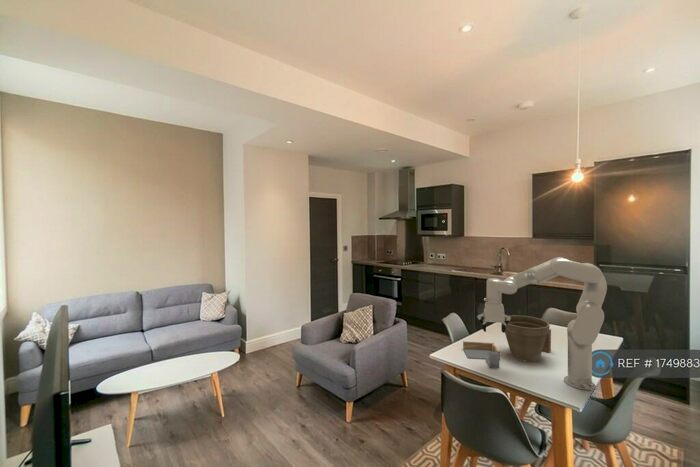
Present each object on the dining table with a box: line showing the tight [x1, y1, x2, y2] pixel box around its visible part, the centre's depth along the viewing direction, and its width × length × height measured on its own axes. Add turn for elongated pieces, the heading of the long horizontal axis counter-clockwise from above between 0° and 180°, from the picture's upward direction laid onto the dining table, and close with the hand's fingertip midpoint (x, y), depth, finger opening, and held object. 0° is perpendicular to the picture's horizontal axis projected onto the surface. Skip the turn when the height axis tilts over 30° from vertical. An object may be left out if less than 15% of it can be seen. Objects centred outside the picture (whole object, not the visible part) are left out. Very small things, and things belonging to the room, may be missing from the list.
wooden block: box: [542, 328, 552, 353], centre depth 192 cm, size 4×11×18 cm, turn 36°
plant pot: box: [504, 314, 551, 363], centre depth 181 cm, size 25×25×22 cm
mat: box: [463, 349, 501, 361], centre depth 185 cm, size 14×18×1 cm
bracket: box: [485, 352, 500, 369], centre depth 172 cm, size 8×5×8 cm, turn 170°
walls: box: [462, 340, 501, 360], centre depth 185 cm, size 14×18×5 cm
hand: (493, 331), depth 168 cm, fingers open, 9 cm apart
